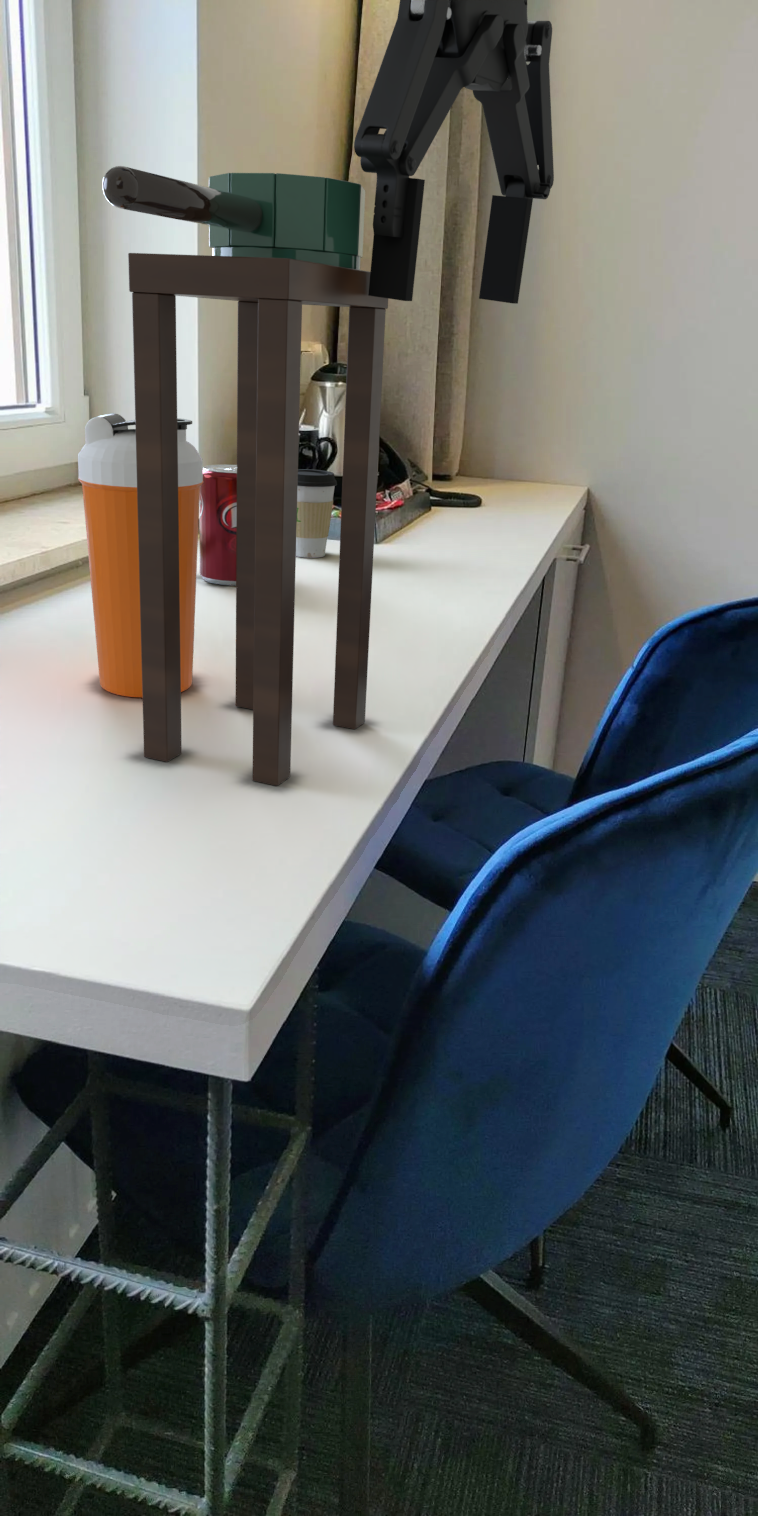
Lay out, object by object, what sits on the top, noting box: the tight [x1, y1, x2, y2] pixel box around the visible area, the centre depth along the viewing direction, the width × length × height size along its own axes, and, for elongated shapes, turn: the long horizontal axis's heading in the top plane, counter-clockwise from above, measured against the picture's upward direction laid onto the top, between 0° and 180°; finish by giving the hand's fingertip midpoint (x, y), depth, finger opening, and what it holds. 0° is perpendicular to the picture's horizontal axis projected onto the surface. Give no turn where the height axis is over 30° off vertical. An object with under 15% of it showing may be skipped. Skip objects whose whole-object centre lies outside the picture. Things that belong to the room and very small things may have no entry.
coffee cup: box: [296, 468, 338, 559], centre depth 137 cm, size 7×7×10 cm
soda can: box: [198, 463, 237, 587], centre depth 121 cm, size 7×7×12 cm
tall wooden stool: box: [127, 252, 389, 787], centre depth 71 cm, size 14×10×30 cm
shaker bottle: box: [77, 412, 204, 699], centre depth 83 cm, size 9×9×20 cm
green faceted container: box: [102, 165, 366, 270], centre depth 61 cm, size 22×9×5 cm, turn 157°
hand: (447, 300), depth 72 cm, fingers open, 13 cm apart
